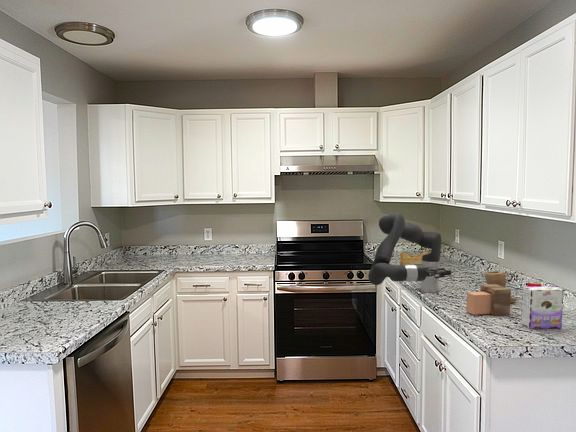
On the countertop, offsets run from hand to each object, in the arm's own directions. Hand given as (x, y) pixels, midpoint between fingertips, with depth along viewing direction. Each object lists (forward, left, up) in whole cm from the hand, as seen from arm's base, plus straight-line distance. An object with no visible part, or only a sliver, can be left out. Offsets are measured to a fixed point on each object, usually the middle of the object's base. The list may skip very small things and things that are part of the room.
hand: (447, 271), depth 177 cm
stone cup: (-18, +42, -20) cm, 50 cm away
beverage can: (-5, +51, -20) cm, 55 cm away
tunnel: (0, +25, -20) cm, 32 cm away
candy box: (+20, +31, -20) cm, 42 cm away
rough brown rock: (-91, +37, -20) cm, 100 cm away
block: (0, +20, -20) cm, 28 cm away
